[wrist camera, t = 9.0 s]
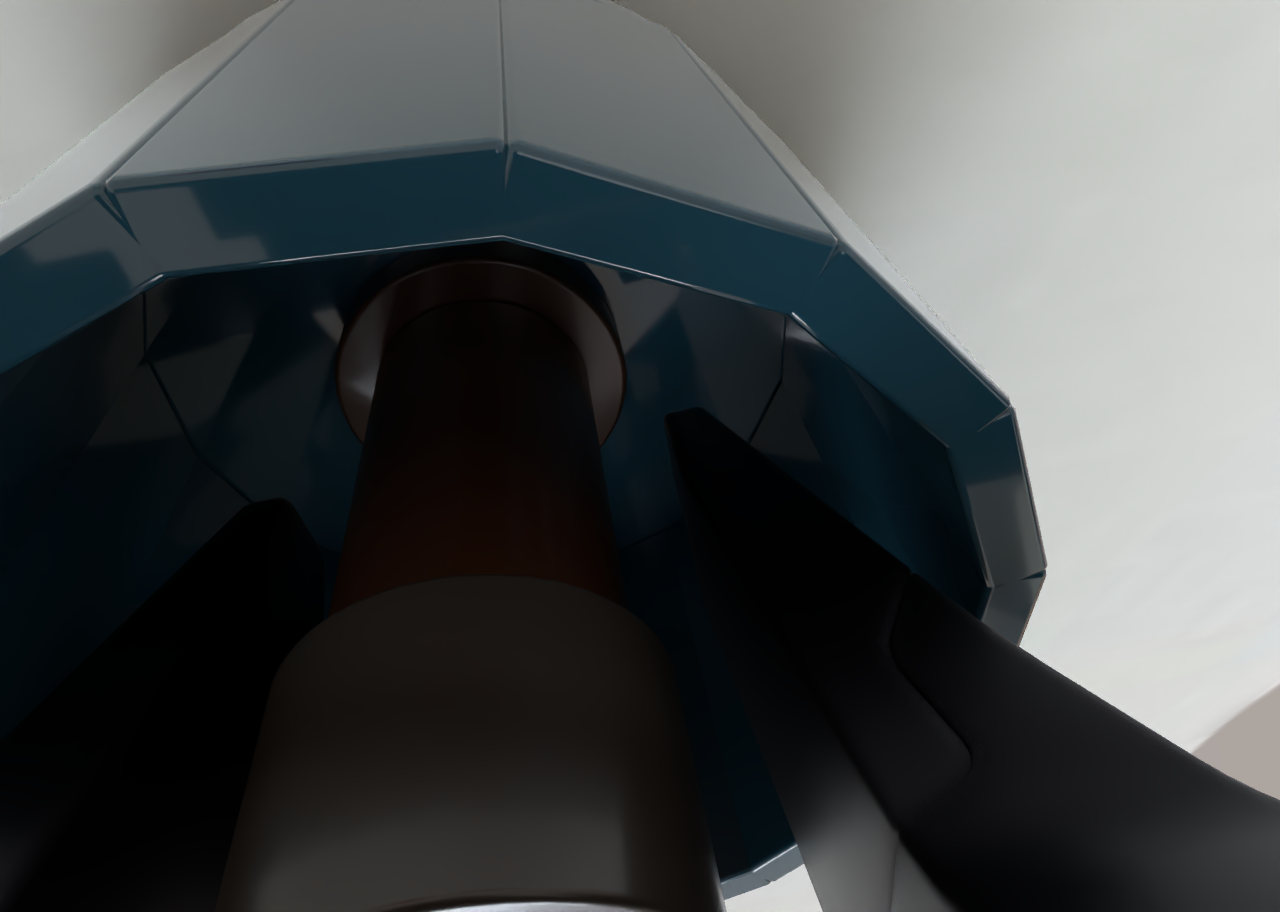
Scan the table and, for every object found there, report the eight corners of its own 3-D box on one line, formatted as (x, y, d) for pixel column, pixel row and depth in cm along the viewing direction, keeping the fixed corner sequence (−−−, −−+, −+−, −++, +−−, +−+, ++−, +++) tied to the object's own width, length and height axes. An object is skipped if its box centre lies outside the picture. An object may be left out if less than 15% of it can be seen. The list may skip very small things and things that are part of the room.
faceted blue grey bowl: (546, 637, 15) (571, 1004, 10) (1, 403, 11) (-383, 866, 6) (933, 289, 12) (1231, 611, 7) (359, -285, 7) (104, -471, 2)
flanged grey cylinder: (515, 508, 12) (536, 1126, 6) (287, 391, 10) (35, 1103, 5) (676, 342, 11) (885, 944, 5) (445, 173, 9) (364, 811, 3)
